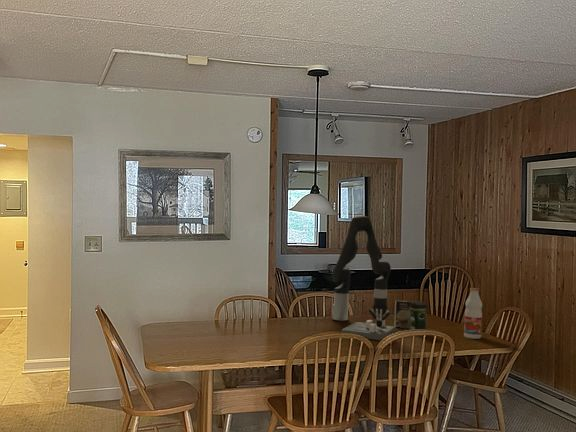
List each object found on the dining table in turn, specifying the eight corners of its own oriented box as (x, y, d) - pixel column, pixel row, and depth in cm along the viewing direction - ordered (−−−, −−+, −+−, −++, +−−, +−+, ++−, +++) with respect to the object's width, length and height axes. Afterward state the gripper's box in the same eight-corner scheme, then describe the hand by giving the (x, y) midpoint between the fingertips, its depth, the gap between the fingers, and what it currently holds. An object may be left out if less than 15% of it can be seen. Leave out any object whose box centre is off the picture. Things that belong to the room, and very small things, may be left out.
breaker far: (378, 326, 331) (378, 319, 331) (381, 324, 336) (381, 318, 336) (382, 326, 330) (382, 320, 330) (385, 325, 335) (385, 318, 335)
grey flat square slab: (341, 334, 321) (341, 329, 321) (356, 326, 344) (356, 321, 344) (382, 340, 310) (382, 334, 310) (395, 331, 334) (395, 326, 334)
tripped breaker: (365, 327, 325) (365, 321, 325) (368, 326, 330) (368, 319, 330) (369, 328, 324) (369, 321, 324) (372, 326, 329) (372, 320, 329)
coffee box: (394, 327, 345) (395, 301, 345) (393, 325, 352) (394, 299, 352) (410, 328, 345) (411, 302, 344) (409, 326, 351) (409, 300, 351)
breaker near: (369, 331, 315) (369, 324, 315) (372, 330, 320) (372, 323, 320) (373, 332, 314) (373, 325, 314) (376, 330, 319) (376, 323, 319)
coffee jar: (419, 331, 338) (420, 300, 338) (428, 334, 331) (429, 302, 330) (406, 332, 334) (407, 300, 333) (414, 335, 327) (415, 302, 326)
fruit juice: (481, 336, 329) (483, 288, 329) (480, 339, 320) (482, 290, 320) (464, 334, 333) (466, 286, 332) (463, 337, 324) (465, 288, 323)
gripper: (367, 296, 324) (366, 326, 324) (390, 298, 318) (388, 329, 318) (371, 294, 331) (370, 324, 331) (393, 297, 325) (392, 327, 325)
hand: (379, 326), depth 325 cm, fingers closed
